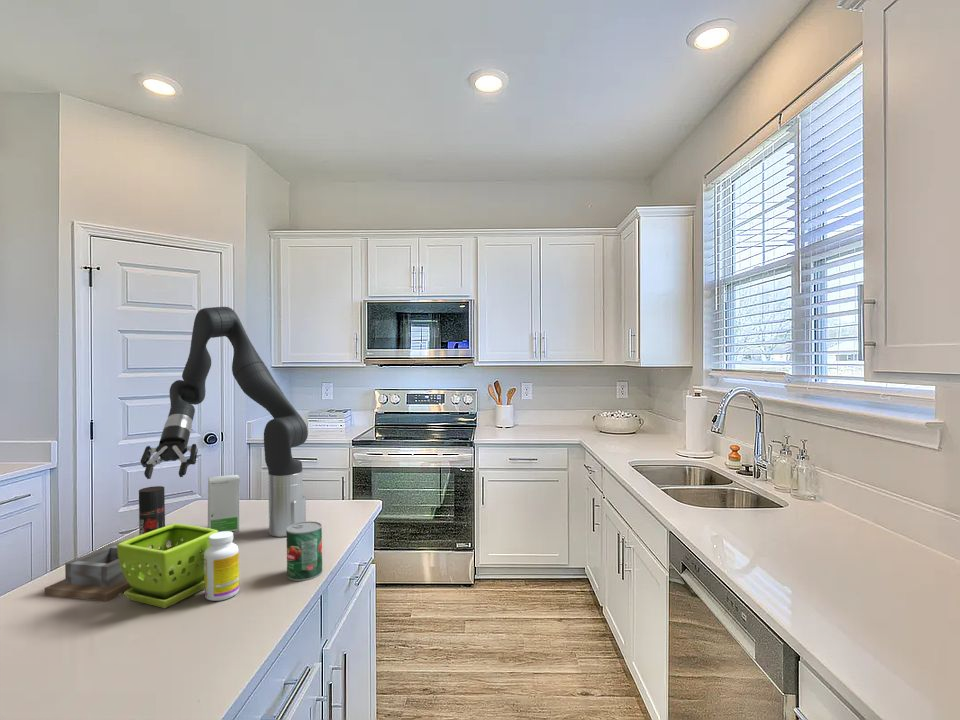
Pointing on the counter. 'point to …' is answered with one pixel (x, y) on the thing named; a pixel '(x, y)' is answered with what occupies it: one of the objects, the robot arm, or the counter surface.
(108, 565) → the jig
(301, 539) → the canned tomato
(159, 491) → the deodorant
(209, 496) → the skincare box
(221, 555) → the supplement bottle
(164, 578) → the flower pot
